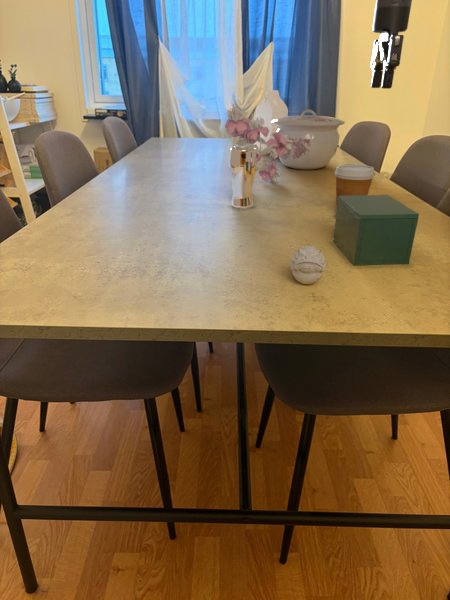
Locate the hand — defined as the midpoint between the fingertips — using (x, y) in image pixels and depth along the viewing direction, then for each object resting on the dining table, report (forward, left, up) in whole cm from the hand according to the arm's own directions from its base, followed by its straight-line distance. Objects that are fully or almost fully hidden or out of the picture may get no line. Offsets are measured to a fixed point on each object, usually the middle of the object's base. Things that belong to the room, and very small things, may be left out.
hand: (380, 88), depth 103 cm
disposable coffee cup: (+6, +8, -29) cm, 31 cm away
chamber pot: (+2, -60, -29) cm, 67 cm away
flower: (+24, -32, -29) cm, 50 cm away
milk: (+9, -103, -29) cm, 108 cm away
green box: (+10, +33, -29) cm, 45 cm away
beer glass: (+32, -4, -29) cm, 44 cm away
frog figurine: (+26, +47, -29) cm, 61 cm away
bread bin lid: (+10, +32, -20) cm, 39 cm away
